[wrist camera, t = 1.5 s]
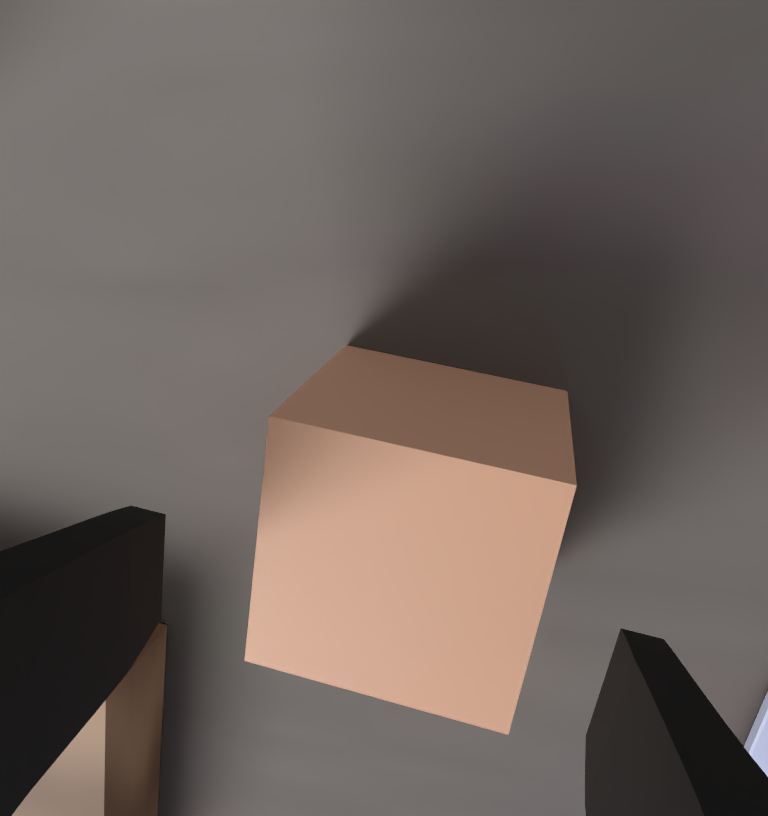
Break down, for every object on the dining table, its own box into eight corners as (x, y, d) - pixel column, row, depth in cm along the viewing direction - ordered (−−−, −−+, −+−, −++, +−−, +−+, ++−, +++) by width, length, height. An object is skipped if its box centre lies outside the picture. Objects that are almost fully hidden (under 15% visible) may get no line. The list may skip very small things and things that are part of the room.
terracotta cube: (518, 582, 17) (508, 734, 13) (321, 533, 18) (244, 661, 13) (567, 390, 16) (576, 485, 11) (347, 344, 16) (269, 415, 12)
